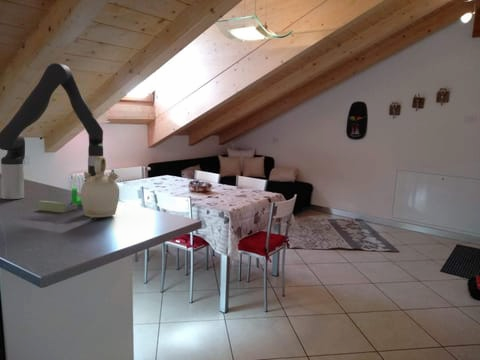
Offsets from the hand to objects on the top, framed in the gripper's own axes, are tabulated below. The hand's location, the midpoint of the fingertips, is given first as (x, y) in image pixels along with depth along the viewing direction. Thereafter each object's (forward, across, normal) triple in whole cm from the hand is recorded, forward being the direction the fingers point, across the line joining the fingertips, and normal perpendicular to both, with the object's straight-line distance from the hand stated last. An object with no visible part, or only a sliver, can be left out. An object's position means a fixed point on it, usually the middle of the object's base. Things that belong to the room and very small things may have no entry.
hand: (96, 198), depth 179 cm
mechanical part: (+2, -4, -7) cm, 8 cm away
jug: (+2, +22, -26) cm, 34 cm away
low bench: (+2, 0, -23) cm, 23 cm away
